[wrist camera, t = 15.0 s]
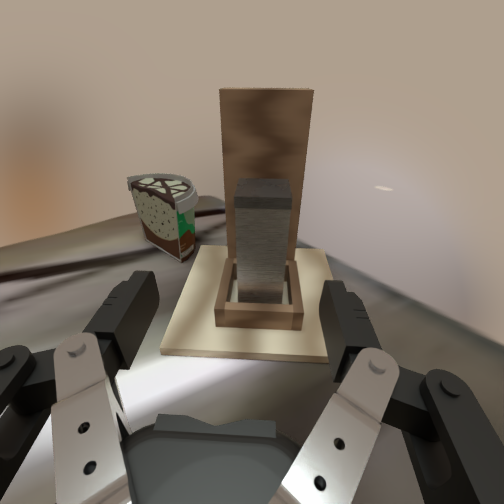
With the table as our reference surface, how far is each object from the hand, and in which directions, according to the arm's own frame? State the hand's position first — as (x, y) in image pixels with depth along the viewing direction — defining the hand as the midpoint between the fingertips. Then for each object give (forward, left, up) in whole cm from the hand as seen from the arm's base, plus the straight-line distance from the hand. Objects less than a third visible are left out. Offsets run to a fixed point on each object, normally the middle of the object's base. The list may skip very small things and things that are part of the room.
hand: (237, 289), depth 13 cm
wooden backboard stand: (+1, +15, -13) cm, 20 cm away
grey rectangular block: (+1, +13, -12) cm, 18 cm away
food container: (-12, +26, -14) cm, 31 cm away
